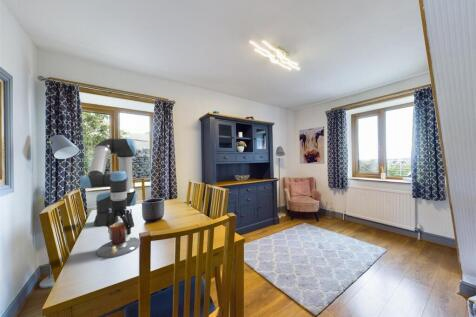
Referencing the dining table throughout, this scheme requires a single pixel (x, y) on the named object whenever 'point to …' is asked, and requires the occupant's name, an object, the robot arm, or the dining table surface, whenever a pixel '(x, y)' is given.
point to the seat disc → (118, 248)
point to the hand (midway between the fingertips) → (119, 239)
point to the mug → (117, 233)
